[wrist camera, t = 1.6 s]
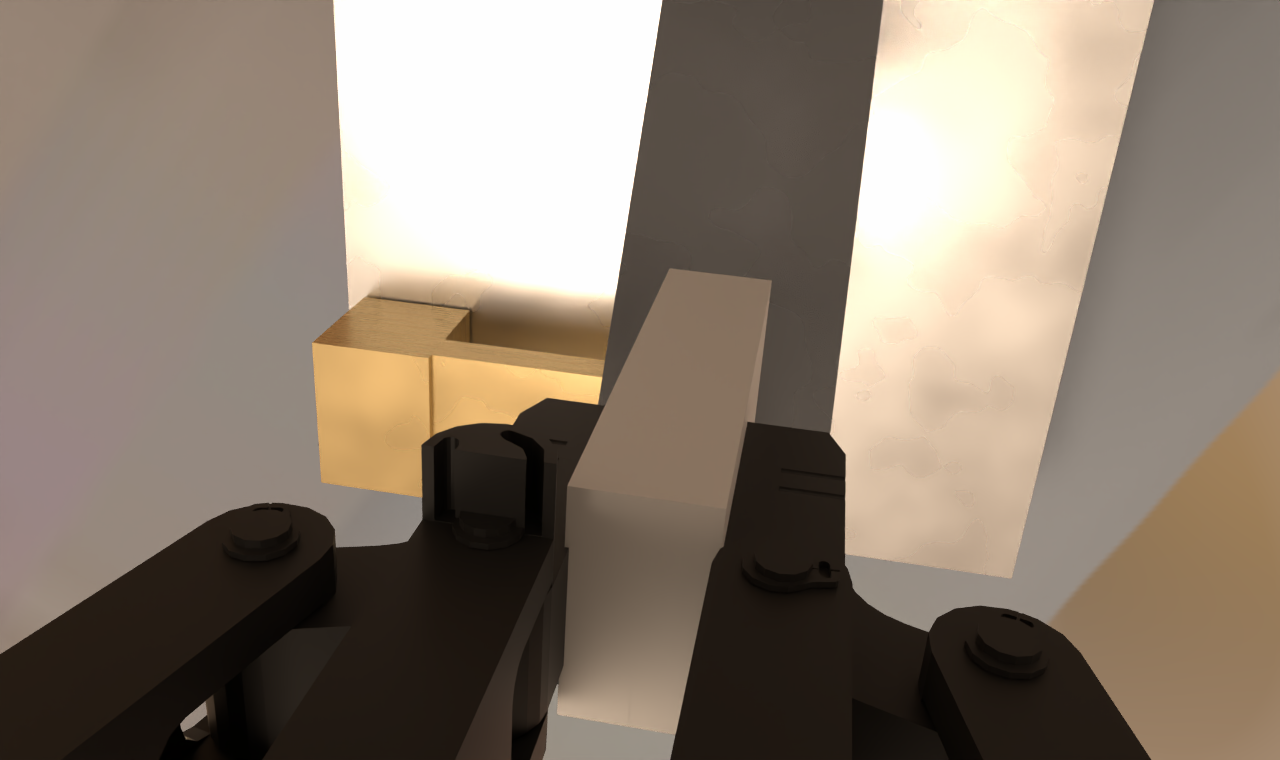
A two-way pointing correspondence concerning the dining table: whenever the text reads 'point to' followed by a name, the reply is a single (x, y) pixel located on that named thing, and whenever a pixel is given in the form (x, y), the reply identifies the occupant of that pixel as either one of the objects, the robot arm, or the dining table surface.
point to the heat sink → (884, 236)
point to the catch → (421, 388)
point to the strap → (755, 179)
